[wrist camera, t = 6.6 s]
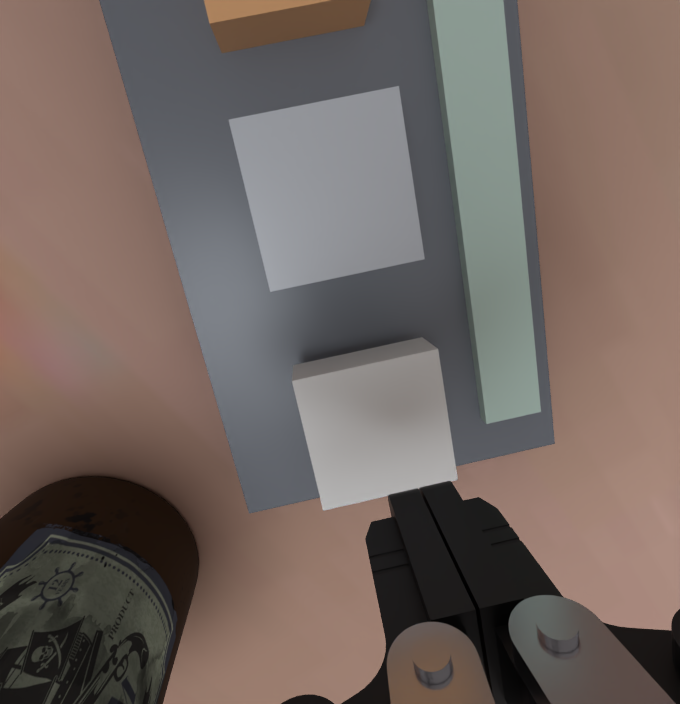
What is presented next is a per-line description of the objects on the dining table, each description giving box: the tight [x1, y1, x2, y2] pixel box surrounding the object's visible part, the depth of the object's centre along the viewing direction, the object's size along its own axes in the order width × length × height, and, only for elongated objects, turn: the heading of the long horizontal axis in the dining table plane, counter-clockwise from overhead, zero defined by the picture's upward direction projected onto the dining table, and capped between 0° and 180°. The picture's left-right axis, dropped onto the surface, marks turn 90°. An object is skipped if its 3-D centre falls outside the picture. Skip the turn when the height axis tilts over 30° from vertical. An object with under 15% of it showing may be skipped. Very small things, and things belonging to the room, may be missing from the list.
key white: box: [292, 337, 458, 511], centre depth 16 cm, size 5×5×2 cm
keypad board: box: [99, 0, 555, 513], centre depth 17 cm, size 14×24×3 cm, turn 12°
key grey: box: [229, 86, 425, 292], centre depth 14 cm, size 5×5×2 cm
